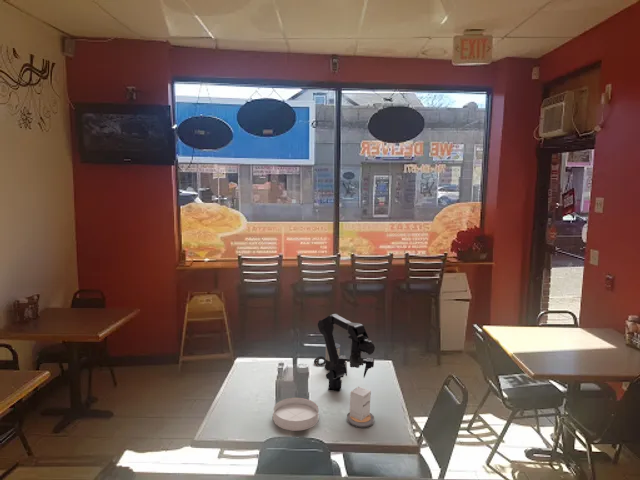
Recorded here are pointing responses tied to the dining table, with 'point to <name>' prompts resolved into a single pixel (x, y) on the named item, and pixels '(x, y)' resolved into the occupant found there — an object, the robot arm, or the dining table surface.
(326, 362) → the milk frother
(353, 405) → the supplement box
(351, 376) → the dining table surface
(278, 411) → the dish
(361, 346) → the robot arm
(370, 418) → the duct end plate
